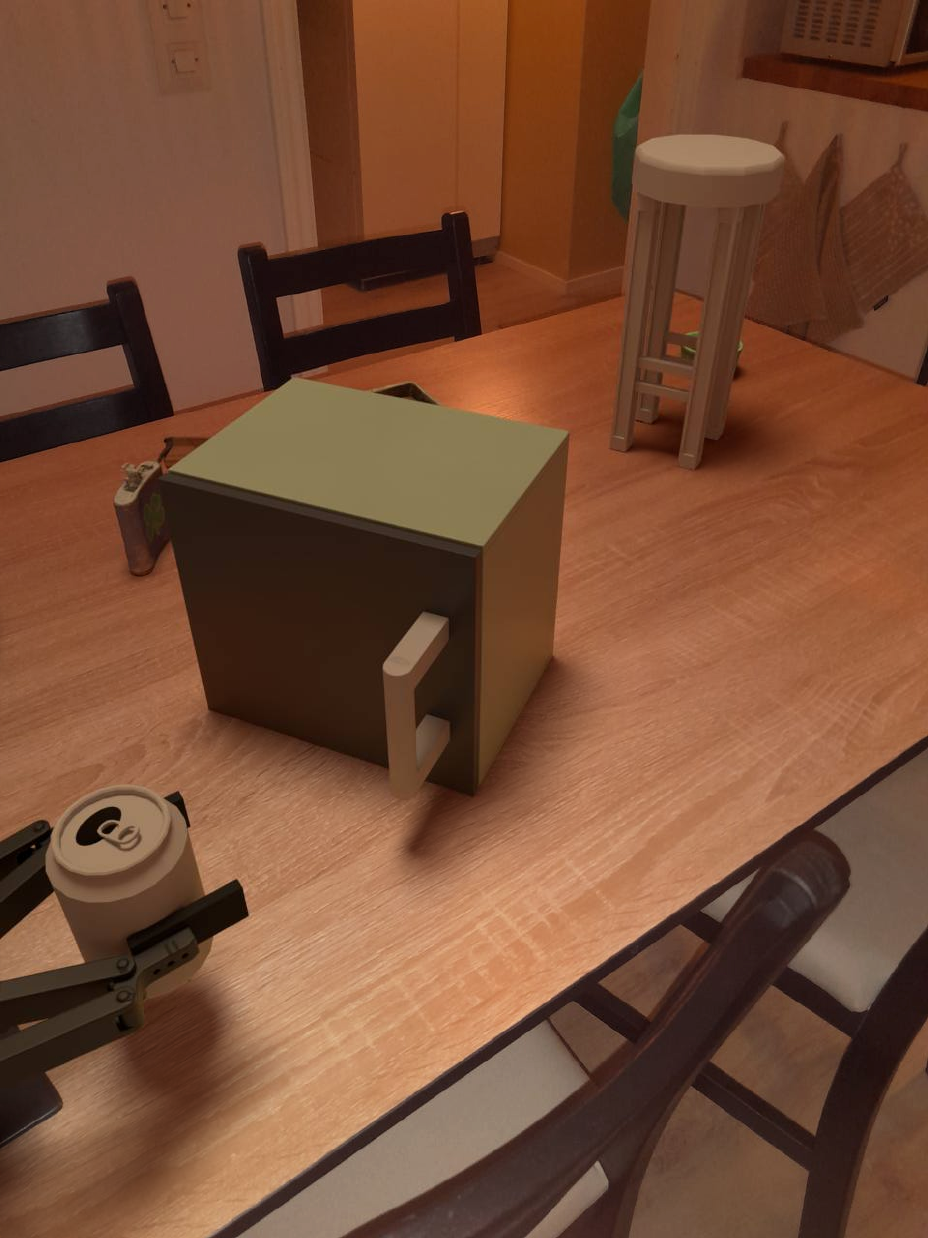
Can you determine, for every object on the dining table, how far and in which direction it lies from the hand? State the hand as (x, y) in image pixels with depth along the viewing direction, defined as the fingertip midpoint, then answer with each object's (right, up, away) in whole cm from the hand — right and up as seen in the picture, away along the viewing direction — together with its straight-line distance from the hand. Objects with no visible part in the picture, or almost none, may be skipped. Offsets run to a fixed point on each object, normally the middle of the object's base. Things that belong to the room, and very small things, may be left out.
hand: (212, 851), depth 58 cm
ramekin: (+51, +51, +86) cm, 112 cm away
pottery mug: (-16, +29, +58) cm, 66 cm away
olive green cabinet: (+8, +8, +31) cm, 34 cm away
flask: (-19, +21, +48) cm, 55 cm away
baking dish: (+8, +33, +63) cm, 71 cm away
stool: (+41, +37, +68) cm, 88 cm away
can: (-4, -7, +2) cm, 8 cm away
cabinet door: (+3, +1, +22) cm, 22 cm away
